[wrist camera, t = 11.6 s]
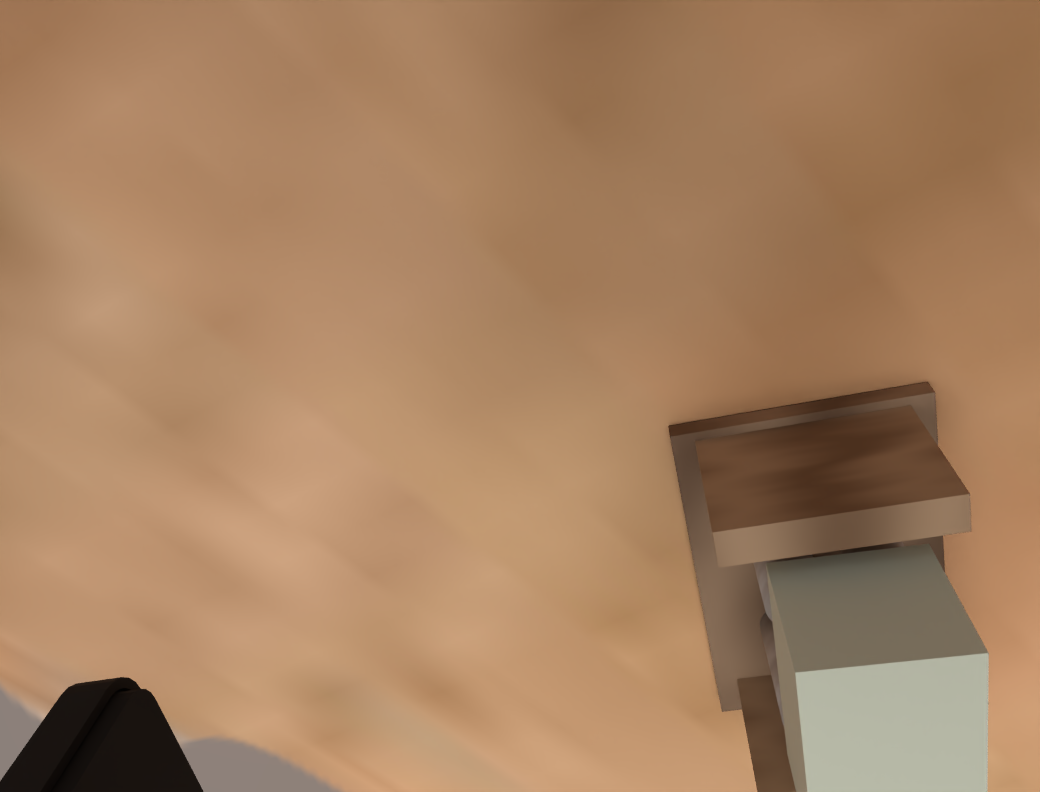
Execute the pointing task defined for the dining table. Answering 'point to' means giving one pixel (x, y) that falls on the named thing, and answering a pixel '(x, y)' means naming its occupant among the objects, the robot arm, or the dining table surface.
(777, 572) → the grey green block
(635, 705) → the dining table surface
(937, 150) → the dining table surface
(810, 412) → the peg stand
